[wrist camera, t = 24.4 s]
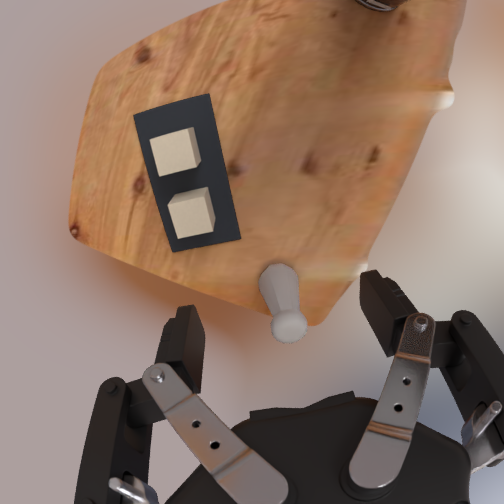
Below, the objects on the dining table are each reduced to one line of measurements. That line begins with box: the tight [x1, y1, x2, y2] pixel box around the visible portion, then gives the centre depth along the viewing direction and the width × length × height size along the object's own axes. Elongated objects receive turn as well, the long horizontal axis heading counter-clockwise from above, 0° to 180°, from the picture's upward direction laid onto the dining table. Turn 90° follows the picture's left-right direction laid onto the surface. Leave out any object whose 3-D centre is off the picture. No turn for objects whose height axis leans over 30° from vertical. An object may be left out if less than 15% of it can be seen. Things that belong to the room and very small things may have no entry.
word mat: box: [133, 93, 241, 252], centre depth 36 cm, size 20×10×1 cm, turn 11°
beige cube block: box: [168, 187, 215, 239], centre depth 35 cm, size 4×5×4 cm
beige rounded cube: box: [150, 127, 201, 177], centre depth 32 cm, size 4×5×4 cm
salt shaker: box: [258, 263, 307, 343], centre depth 38 cm, size 6×6×13 cm
